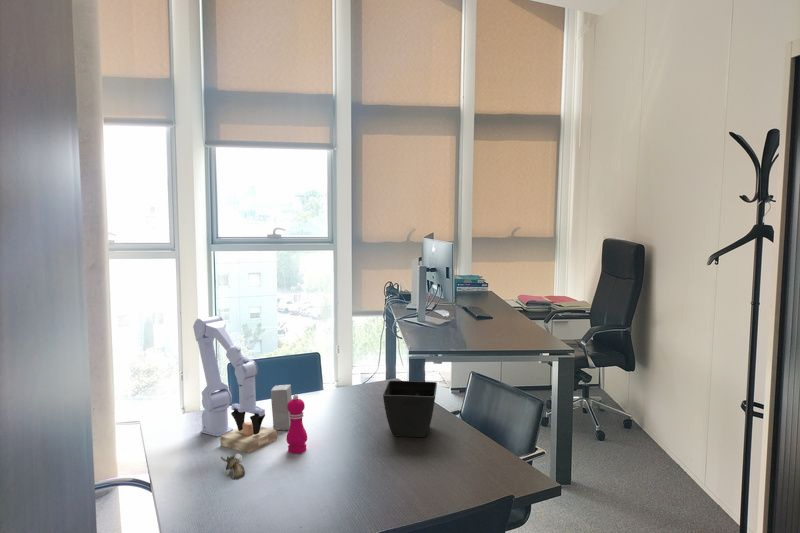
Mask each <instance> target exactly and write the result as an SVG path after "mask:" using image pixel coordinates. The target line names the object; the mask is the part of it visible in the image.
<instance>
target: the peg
mask: <svg viewBox="0 0 800 533" xmlns="http://www.w3.org/2000/svg"><path fill="white" fill-rule="evenodd" d="M243 435H244V436H248V437H249V436H252V435H253V425H252V421H246V422H244V423H243Z"/></svg>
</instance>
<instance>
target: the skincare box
mask: <svg viewBox="0 0 800 533" xmlns="http://www.w3.org/2000/svg"><path fill="white" fill-rule="evenodd" d="M292 399H293V396H292V385H291V384H277V385H274V386H273V387H272V388H271V390H270V400H271V401H270V402H271V414H272V426H273V430H277V431H279V430H280V431H289V428H290V422H291V421H290V418H289V413H290V412H289V411H288V409H287V404H288V402H289V401H290V400H292Z"/></svg>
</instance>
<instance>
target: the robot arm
mask: <svg viewBox="0 0 800 533" xmlns="http://www.w3.org/2000/svg"><path fill="white" fill-rule="evenodd" d="M192 328H193V332H194V336H195V341H196V342H197V343H198V344H197V345H198V349H199V355H200V360H201V363H202V368H203V373H204V377H205V381H206V386H205V387H204V388H203V390H202V392H201V396H202V397H201V399H202V400H201V405H202V407H203V411H202V412H201V428H202V429H201V430H200V433H202V434H207V435H210V436H214V437H220V436H222V435H224V434H226V433H229V432H231V431H233V430H234V428H232V427H229V418H228V417H229V416H228V413H229V412H228V408H230V404H231V411H232V412H231V413H230V414H231V416H232V418H233V419H234V422H235V424H236V427H237V429H238V430H239V431H241V430H243V423H245V418H246V413H248V414H252V415H251V416H249V419H250V422H252V425H253V433H254V435H256V434H258V433H259V431H260V427H262V423H263V420H264V418H265V417H266V411H265V410H266V409H263V408H261V407H260V406H258V405H257V402H256V401H257V400H256V398H257V397H256V376H257V375H258V373H259V368H258V367H259V366H258V364H257V363H256V361H255V360H252V359H251V358H248V356H247V355H246V353H245V352H244V351H243V349H242V348H241V347H240V345H235V343H234V341H233V340H232V338H231V336H230V334H229V333H228V331H227V330H226V322H225V321H224V318H223V317H222V316H221V315H220V314H219V315H218V314H216V315H213V316H207V317H202V318H197V319H196V320H195V321H194V323H193V326H192ZM214 340H217V342H218V343H219V344H220V345H221V346H222V347H223V348H224V350H226V353H225V357H226V358H227V359H228V361H229V362H230V364H231V365H232V366H233V368H234V375H235V377H236V382H237V385H238V395H239V396H238V400H239V401H238V402H239V403H232V400H233V396H232V393H231V391H230V389H229V386H228V385H227V384H225V383H224V382H222V379H221V375H220V374H221V373H220V371H219V369H220V368H219V364H218V360H217V356H216V355H217V354H216V352H215V346H214Z"/></svg>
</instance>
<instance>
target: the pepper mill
mask: <svg viewBox="0 0 800 533" xmlns="http://www.w3.org/2000/svg"><path fill="white" fill-rule="evenodd" d="M305 406H306V405H305V402H304V401H303V399H301V398H299V396H298V395H297V394H294V395H293V396H292V400H290V401H289V402H288V404H287V409H288V411H289V412H290V413H289V418H290V421H291V422H290V428H289V430H287V434H286V438H285V439H286V442H287V444H288V446H287V452H288V451H289V452H290V454H292V453H293V455H298V454H303V453H305V452H306V451H307V444H306V443H307V441H308V433H307V431H306V429H305V427H304V423H303V418H304V410H305ZM289 452H288V453H289Z"/></svg>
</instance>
